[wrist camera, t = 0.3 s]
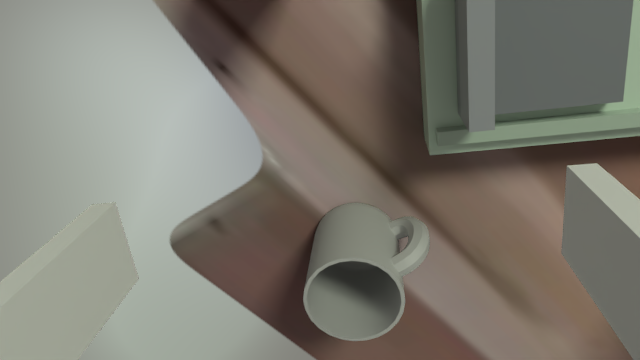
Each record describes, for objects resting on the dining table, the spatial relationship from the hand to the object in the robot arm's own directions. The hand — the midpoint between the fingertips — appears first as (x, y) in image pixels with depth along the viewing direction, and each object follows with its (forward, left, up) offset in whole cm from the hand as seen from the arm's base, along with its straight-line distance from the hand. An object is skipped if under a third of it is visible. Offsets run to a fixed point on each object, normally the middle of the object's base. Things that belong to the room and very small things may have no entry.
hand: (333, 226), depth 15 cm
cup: (+14, 0, -25) cm, 29 cm away
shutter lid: (-2, +12, -21) cm, 24 cm away
